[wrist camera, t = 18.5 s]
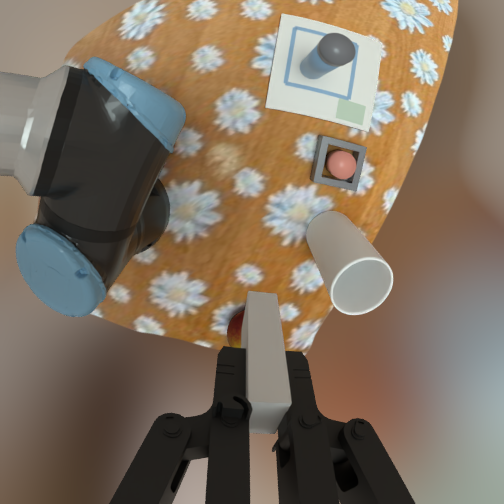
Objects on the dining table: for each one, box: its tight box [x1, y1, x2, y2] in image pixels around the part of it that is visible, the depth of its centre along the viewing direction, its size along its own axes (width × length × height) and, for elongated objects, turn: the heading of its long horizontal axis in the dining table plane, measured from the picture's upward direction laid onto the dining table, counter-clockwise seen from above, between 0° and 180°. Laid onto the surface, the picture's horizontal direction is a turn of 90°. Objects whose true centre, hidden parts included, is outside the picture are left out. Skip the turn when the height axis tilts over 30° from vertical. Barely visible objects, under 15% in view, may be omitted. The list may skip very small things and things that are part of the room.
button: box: [326, 150, 356, 179], centre depth 37 cm, size 4×4×2 cm
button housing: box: [310, 135, 367, 191], centre depth 38 cm, size 7×7×2 cm
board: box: [265, 14, 382, 132], centre depth 32 cm, size 16×16×1 cm
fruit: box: [227, 310, 245, 348], centre depth 49 cm, size 10×9×8 cm
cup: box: [306, 211, 393, 315], centre depth 37 cm, size 8×8×16 cm
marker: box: [300, 33, 356, 79], centre depth 26 cm, size 4×4×12 cm
